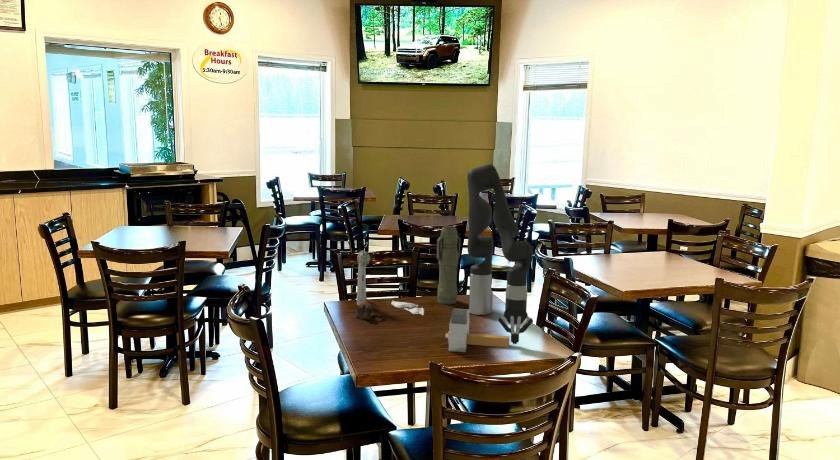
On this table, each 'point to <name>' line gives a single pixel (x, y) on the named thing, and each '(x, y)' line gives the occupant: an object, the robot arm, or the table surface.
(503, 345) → the wooden handle
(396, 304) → the cloth
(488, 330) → the table surface
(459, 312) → the block
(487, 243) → the robot arm
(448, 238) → the thermos
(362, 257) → the grey knobbed rod
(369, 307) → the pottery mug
